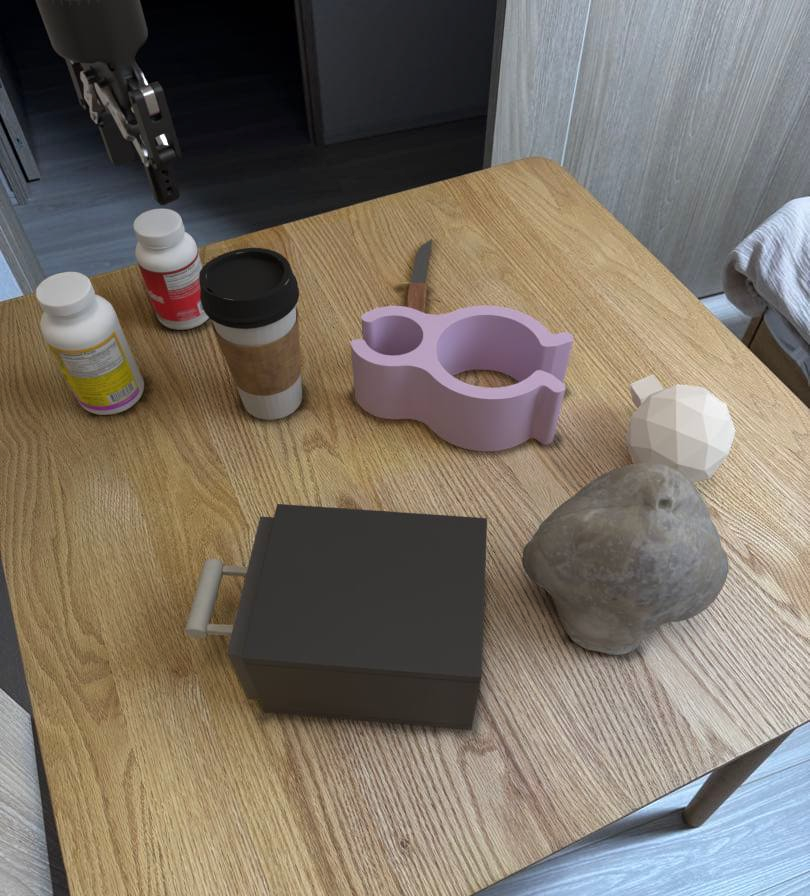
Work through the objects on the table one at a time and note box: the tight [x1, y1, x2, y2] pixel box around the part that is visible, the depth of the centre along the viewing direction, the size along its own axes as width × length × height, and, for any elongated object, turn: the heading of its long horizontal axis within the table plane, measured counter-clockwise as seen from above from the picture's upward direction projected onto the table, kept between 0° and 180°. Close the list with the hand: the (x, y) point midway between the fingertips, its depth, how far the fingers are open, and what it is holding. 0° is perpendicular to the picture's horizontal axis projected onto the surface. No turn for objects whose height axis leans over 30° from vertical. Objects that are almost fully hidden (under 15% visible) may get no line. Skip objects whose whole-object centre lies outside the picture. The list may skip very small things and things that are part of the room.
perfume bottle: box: [625, 373, 737, 484], centre depth 67 cm, size 9×9×12 cm
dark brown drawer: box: [184, 516, 274, 701], centre depth 56 cm, size 19×11×8 cm, turn 85°
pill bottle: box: [133, 208, 210, 331], centre depth 78 cm, size 6×6×11 cm
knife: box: [400, 238, 433, 313], centre depth 84 cm, size 17×1×3 cm
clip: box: [350, 304, 575, 452], centre depth 72 cm, size 20×12×7 cm, turn 77°
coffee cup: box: [199, 247, 303, 421], centre depth 69 cm, size 8×8×15 cm
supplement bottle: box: [35, 271, 145, 416], centre depth 70 cm, size 7×7×13 cm
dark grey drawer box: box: [242, 503, 488, 731], centre depth 56 cm, size 16×13×10 cm
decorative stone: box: [521, 463, 730, 656], centre depth 56 cm, size 15×10×15 cm
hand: (145, 180), depth 70 cm, fingers open, 8 cm apart
